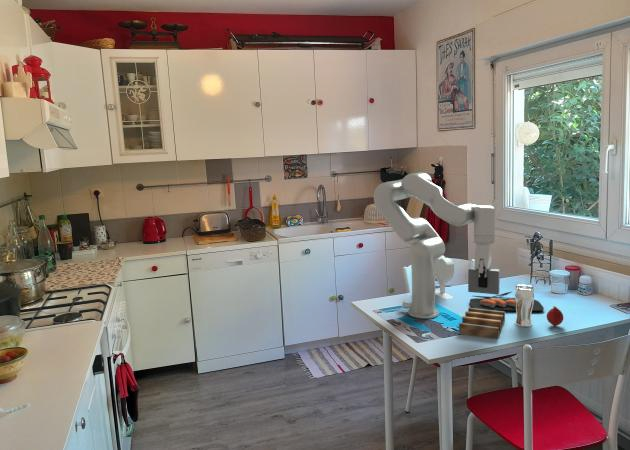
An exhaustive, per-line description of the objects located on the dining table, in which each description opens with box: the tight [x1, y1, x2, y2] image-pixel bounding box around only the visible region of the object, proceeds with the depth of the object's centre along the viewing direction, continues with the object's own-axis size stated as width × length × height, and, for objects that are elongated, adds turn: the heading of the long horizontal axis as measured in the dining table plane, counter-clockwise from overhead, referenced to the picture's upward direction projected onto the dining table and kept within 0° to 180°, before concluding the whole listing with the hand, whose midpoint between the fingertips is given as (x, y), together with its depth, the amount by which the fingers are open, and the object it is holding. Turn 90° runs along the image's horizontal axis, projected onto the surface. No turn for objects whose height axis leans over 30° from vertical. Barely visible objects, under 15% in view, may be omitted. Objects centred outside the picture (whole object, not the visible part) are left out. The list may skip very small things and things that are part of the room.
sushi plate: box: [469, 291, 545, 312], centre depth 231 cm, size 29×30×4 cm
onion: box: [546, 305, 564, 327], centre depth 199 cm, size 6×6×8 cm
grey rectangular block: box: [467, 266, 501, 296], centre depth 198 cm, size 11×3×9 cm, turn 63°
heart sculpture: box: [432, 254, 455, 300], centre depth 242 cm, size 16×5×18 cm, turn 13°
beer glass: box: [514, 284, 535, 328], centre depth 201 cm, size 7×7×15 cm
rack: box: [458, 307, 506, 340], centre depth 201 cm, size 14×20×4 cm
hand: (483, 285), depth 198 cm, fingers closed on grey rectangular block, 3 cm apart
